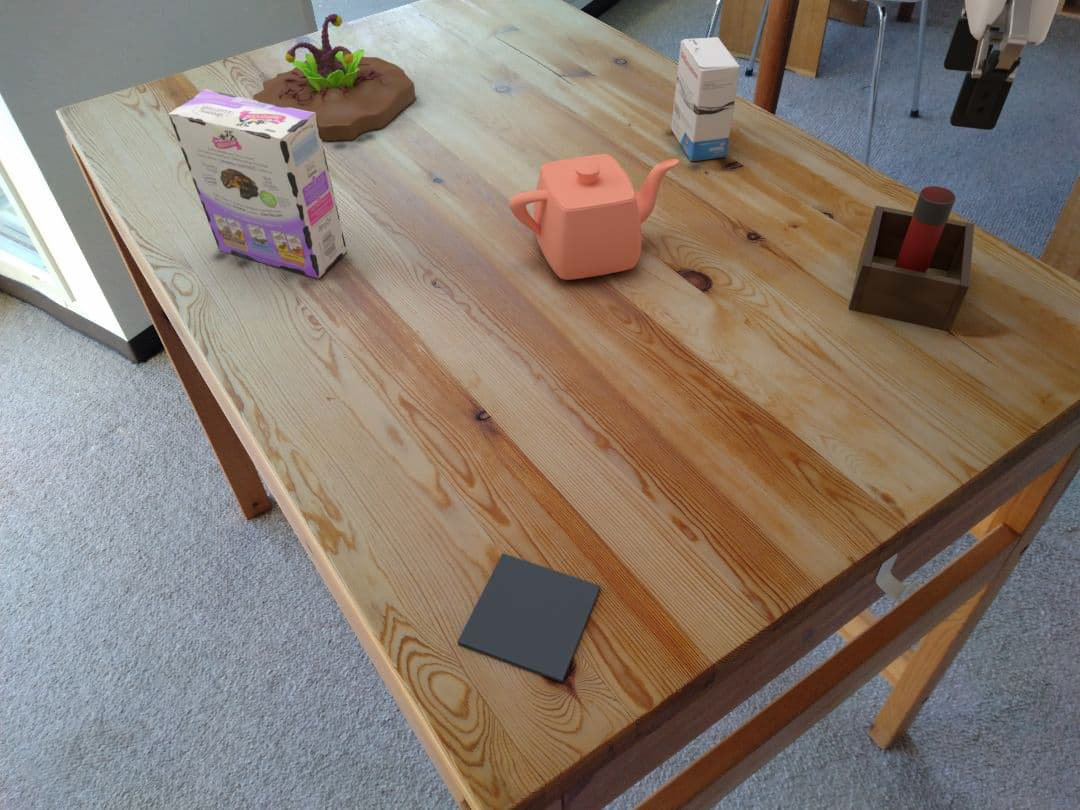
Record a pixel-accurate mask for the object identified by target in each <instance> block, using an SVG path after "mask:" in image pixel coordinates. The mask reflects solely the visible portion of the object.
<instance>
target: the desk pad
mask: <svg viewBox="0 0 1080 810" xmlns="http://www.w3.org/2000/svg"><path fill="white" fill-rule="evenodd" d="M600 590H601V585H600V584H597V583H594V582H590V581H588V580H584V579H582V578H578V577H575V576H572V575H570V574H566V573H563V572H560V571H557V570H555V569H552V568H548V567H545V566H543V565H540V564H536V563H533V562H530V561H527V560H524V559H522V558H518V557H516V556H512V555H509V554H507V553H501V555H500V557H499V559H498V561H497V563H496V564H495V567H494V569H493V571H492V573H491V575H490V576H489V579H488V581H487V582H486V585H485V587H484V588H483V591H482V592H481V594H480V596H479V598H478V601H477V602H476V604H475V606H474V608H473V610H472V612H471V614H470V616H469V618H468V620H467V622H466V624H465V626H464V627H463V630H462V632H461V634H460V636H459V638H458V639H457V644H458V645H459V646H462V647H465V648H467V649H470V650H473V651H475V652H478V653H480V654H482V655H485V656H486V655H487V656H489V657H492V658H493V659H497V660H500V661H502V662H505V663H507V664H511V665H513V666H516V667H518V668H521V669H524V670H527V671H530V672H531V673H535V674H538V675H541V676H543V677H546V678H549V679H551V680H554V681H557V682H559V683H564V680H565V678H566V676H567V673H568V671H569V668H570V665H571V663H572V660H573V658H574V655H575V653H576V651H577V648H578V645H579V643H580V641H581V638H582V635H583V633H584V630H585V628H586V626H587V623H588V620H589V618H590V615H591V613H592V611H593V609H594V606H595V603H596V600H597V598H598V595H599V593H600Z"/></svg>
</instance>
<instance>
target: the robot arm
mask: <svg viewBox="0 0 1080 810" xmlns="http://www.w3.org/2000/svg"><path fill="white" fill-rule="evenodd" d="M1059 3H1060V0H964V4H963V6H962V10H961V18H960V17H959V18H958V19H957V21H956V24H955V28H954V31H953V33H952V36H951V39H950V42H949V45H948V49H947V52H946V55H945V57H944V60H943V67H944V69H945V70H947V71H957V72H966V73H965V74H964V78H963V81H962V84H961V86H960V89H959V92H958V94H957V97H956V101H955V104H954V107H953V109H952V111H951V115H950V118H949V123H950V125H951V126H953V127H958V128H959V127H960V128H965V129H966V128H967V129H975V130H976V129H977V130H985V131H991V130H993V129H995V128H996V126H997V123H998V122H999V121H998V120H999V118H1000V116H1001V114H1002V111H1003V108H1004V105H1005V104H1006V101H1007V98H1008V96H1009V94H1010V91H1011V88H1012V86H1013V83H1014V81H1015V78H1016V76H1017V72H1018V69H1019V67H1020V65H1021V60H1022V55H1021V54H1022V53H1023V51H1024V49H1025V48H1026V46H1027V43H1029V44H1030V45H1031V46H1034V47H1036V46H1038V45H1040V44H1042V43H1043V42H1044V41H1045V39H1046V38H1047V35H1048V33H1049V31H1050V28H1051V25H1052V22H1053V20H1054V16H1055V14H1056V11H1057V9H1058V6H1059ZM1001 28H1002V29H1004V30H1003V31H1000V29H1001ZM994 46H999V47H998V49H993V48H994Z"/></svg>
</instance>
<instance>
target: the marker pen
mask: <svg viewBox="0 0 1080 810" xmlns="http://www.w3.org/2000/svg"><path fill="white" fill-rule="evenodd" d="M955 202H956V194H955V193H954V192H953V191H952V190H951V189H948V188H947V187H943V186H937V185H930V186H925V187H923V188H922V189H921V190H920V192H919V195H918V197H917V200H916V204H915V206H914V210H913V211H912V212H913V217H912V219H911V222H910V225H909V228H908V231H907V234H906V236H905V239H904V242H903V245H902V248H901V251H900V253H899V256H898V259H897V260H896V261H895V265H894V267H898V268H903V269H908V270H913V271H918V272H923V273H927V272H928V270H929V267H930V266H929V264H930V262H931V259H932V257H933V254H934V252H935V249H936V246H937V244H938V241H939V239H940V236H941V234H942V231H943V228H944V226H945V223H946V222H947V220H948V219H949V217H950V214H951V211H952V209H953V207H954V204H955Z"/></svg>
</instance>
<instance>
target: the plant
mask: <svg viewBox="0 0 1080 810" xmlns="http://www.w3.org/2000/svg"><path fill="white" fill-rule="evenodd" d="M329 23H331V25H332V26H334V27H337V28H338V27H340V26H342V24H343V18H342V16H340V15H339V14H337V13H330V14H328V16H326V17H325V18H324V21H323V24H322V25H321V27H322V30H321V35H320V39H321V46H319V48H318V47H317V46H315V45H313V44H312V43H310V42H302V41H301V42H297V43H296V44H294V46H292V47H291V48H290V49H289V50H288V51H286V53H285V60H286V61H287V62H288V63H289V64H290V65H291V66H293V67H294V68H292V69H291V70H288V71H285V72H279V73H277V74H276V76H275V77H272V78H270V79H268V80H265V81H263V82H262V87H263V90H261V91H260V92H259V91H258V92H257V93H254V94H253V95H252V96H253V97H252V100H256V101H261V102H266V103H270V104H275V105H280V106H284V107H289V108H294V109H299V110H304V111H309V112H315V113H316V117H317V122H318V126H319V131H320V135H321V139H322V141H325V142H334V141H349V142H350V141H353V140H355V139H356V138H357V137H358V136H359V135H360V134H363V133H366V132H369V131H373V130H380V129H382V128H384V127H386V126H387V125H388V124H389V123H390V122H391V121H392V120H393V119H394V118H395V117H397V115H398V114H399V113H400V112H402V111H403V110H404V109H405V108H407V107H408V106H409V105H410V104H411V103H413V102H414V101H415V100H416V98H417V97H416V90H415V89H416V88H415V83H414V81H413V80H411V78H409V76H408V75H407V74H406V72H405V70H404V69H403V68H401V67H400V66H399V65H396V64H395V63H393V62H389V61H387V60H385V59H383V58H380V57H377V56H364V55H365V49H358V50H356V51H354V52H352V51H350V49H349V48H347V47H345V46H342V45H337V46H334V48H332V45H331V43H330V41H331V40H330V39H329V38H330V36H329ZM302 48H304V49H307V50H308V51H309V53H305V54H304V58H305V60H304V61H301V60H296V58H297V56H296V50H297V49H302ZM310 53H311V54H310Z"/></svg>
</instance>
